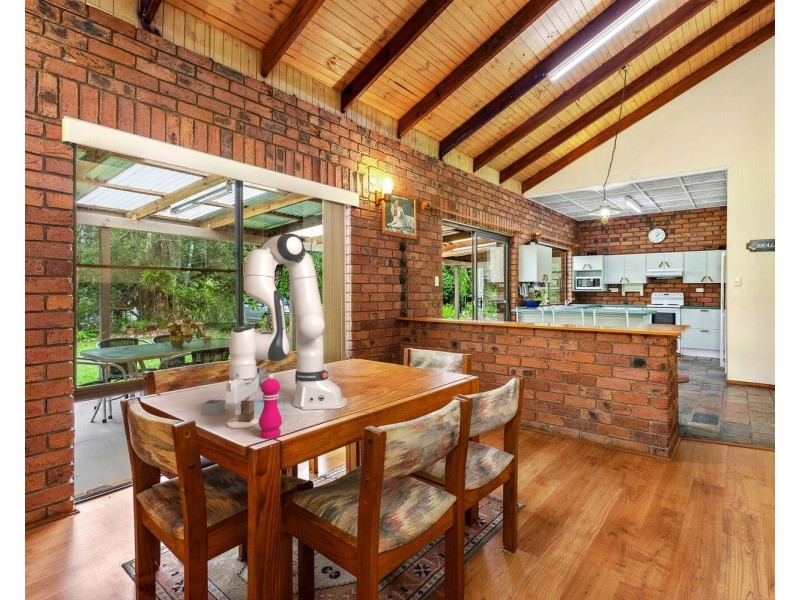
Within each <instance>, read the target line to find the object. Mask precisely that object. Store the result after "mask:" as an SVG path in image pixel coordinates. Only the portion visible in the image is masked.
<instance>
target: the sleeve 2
mask: <svg viewBox="0 0 800 600" xmlns="http://www.w3.org/2000/svg"><path fill="white" fill-rule="evenodd" d="M251 401H254V415H255V414H261V413H262V411H263V407H264V400H263V399H262V398H258V399H257V398H256V399H251Z"/></svg>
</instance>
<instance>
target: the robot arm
mask: <svg viewBox="0 0 800 600" xmlns="http://www.w3.org/2000/svg"><path fill="white" fill-rule="evenodd" d="M277 265H285V266H286V269H287V271H288V277H289V284H290V285H289V286H290V291H291V298H292V302H293V303H292V304H293V308H294V315H295V319H296V323H295V325H296V326H295V329H296V331H295V332H296V334H295V335H296V336H295V337H296V341H295V342H296V370H295V373H294V374H295V375H294V376H295V377H294V381H295V382H294V383H295V392H294V397H293V401H292V406H293V407H295V408H299V409H300V410H304V411H306V410H309V411H310V410H333V409H334V410H335V409H342V408H343V407H346V405H347V404H348V399H347V398H345V397H343V394H342V390H341V388H340V387H339V385H337V384H336V383H334V382H333V381H332V380H331V379H330V378H329V370H326V369H324V359H325V358H324V357H325V356H324V355H325V354H324V353H325V352H324V340H323V338H324V336H323V332H324V331H325V328H326V320H325V316H324V310H323V305H322V302H321V296H320V291H319V283H318V277H317V272H316V271H317V270H316V268H315V263H314V261H313V258H312V256H311V255H310V253H308V252H306V248H305V245H304V243H303V240H302V239H301V238H300V237H299V235H297V234H295V233H291V232H290V233H288V232H287V233H284V234H278V235H275V236H273V237H272V238H270V239H266V240H265V241H264V242H262V243H261V245H260V246H259V248H255V249H253V250H251V251H249V253H248V254H247V257H246V262H245V266H244V267H245V268H244V273H243V290H244V293H245V294H246V295H247V296H248V297H249V298H250V299H252V300H254V301H256V302H258V303H261V304H263V305H265V307H266V306H267V308H268V309H269V311H270V314H271V324H272V333H259V332H256V331H255V328H254V326H252V325H239V326H235V327H233V328H232V329H231V331H230V336H229V343H228V344H229V346H228V348H229V349H228V350H229V351H228V352H229V356H230V360H229V365H228V366H229V368H228V372H229V373H228V374H229V375H228V376H229V377H228V378H229V381H228V382H227V383H226V385H225V386H226V387H225V398H224V400H225V406H226V405H227V406H233V408H234V413H235V415H237V416H238V415H239V414H241V413H242V408H241V406H240V405H241V401H243V400H247V401H251V400H252V397H253V395H255V394H256V393H257V392H258V391H259V387H260V386H259V373H260V371H261V367H260V366H258V365H257V362H256V360H264V361H265V360H267V361H275V362H281V361H283V360H284V359H285V358H286V357H287V356H289V353H290V352H291V351H290V350H291V349H290V347H291V345H290V339H289V336H288V330H287V321H286V312H285V311H286V310H285V305H284V299H283V295H282V293H281V292H280V291H279V290H278V289H277V287H276V284H275V278H276V277H275V276H276V274H275V273H276V272H275V271H276V267H277Z"/></svg>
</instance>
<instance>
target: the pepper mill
mask: <svg viewBox="0 0 800 600" xmlns="http://www.w3.org/2000/svg"><path fill="white" fill-rule="evenodd" d="M280 389H281V383H280V381H278V380H277V379H275V378H274V375H273V373H271V374H269V375H268V377H267V379H264V381H263V380H262V384H261V387H260V391H261V392H262V393H263V394H262V398H261V399H263V400H264V407H263V411H262V413H260V416H259V418H258V427H259V428H260V429H261V430H259V431H260V435H259V436H260V438H261V439H264V440H271V438H272V439H276V437H277V438H279V437H281V428H280V427H281V426H282V425H283V419H282V418H283V417H282V415H281V413H280V411H279V407H278V399H279V392H280Z"/></svg>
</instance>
